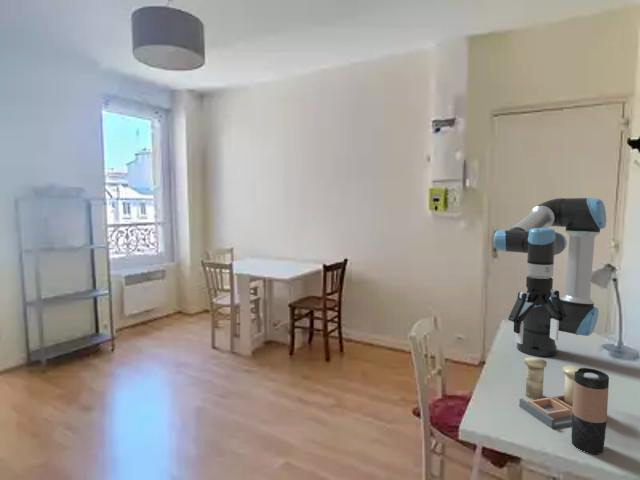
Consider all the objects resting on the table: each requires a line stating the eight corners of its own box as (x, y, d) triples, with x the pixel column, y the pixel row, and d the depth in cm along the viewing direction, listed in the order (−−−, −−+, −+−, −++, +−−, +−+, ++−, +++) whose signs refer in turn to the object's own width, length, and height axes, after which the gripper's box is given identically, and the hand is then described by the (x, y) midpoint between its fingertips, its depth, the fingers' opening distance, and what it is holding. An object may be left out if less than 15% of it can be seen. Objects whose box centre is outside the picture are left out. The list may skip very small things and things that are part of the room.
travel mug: (610, 456, 107) (615, 381, 104) (577, 453, 108) (582, 379, 106) (596, 439, 114) (600, 368, 112) (565, 436, 115) (569, 366, 113)
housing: (519, 406, 132) (520, 366, 131) (568, 398, 137) (571, 360, 135) (551, 428, 120) (553, 384, 118) (604, 419, 124) (607, 376, 123)
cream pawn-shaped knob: (519, 392, 141) (520, 358, 140) (535, 390, 143) (536, 356, 141) (533, 401, 135) (534, 365, 134) (549, 399, 136) (551, 363, 135)
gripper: (514, 280, 128) (511, 348, 130) (581, 276, 134) (577, 341, 136) (498, 276, 135) (495, 340, 137) (562, 272, 141) (558, 333, 143)
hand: (536, 340), depth 137 cm, fingers open, 13 cm apart
